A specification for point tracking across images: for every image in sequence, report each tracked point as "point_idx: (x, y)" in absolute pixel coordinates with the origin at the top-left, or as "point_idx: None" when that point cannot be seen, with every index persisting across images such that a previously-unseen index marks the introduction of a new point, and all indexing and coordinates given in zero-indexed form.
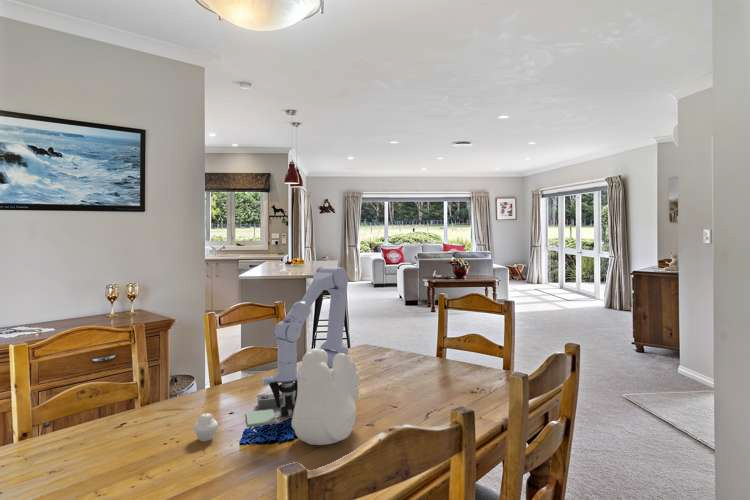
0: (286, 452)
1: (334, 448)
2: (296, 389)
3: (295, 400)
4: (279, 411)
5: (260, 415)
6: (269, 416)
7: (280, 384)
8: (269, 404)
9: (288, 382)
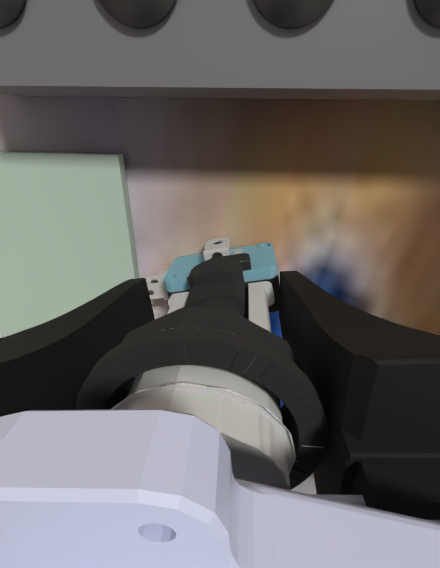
0: None
1: None
2: (310, 377)
3: (283, 291)
4: (161, 286)
5: (48, 253)
6: (106, 286)
7: (94, 372)
8: (78, 93)
9: None
